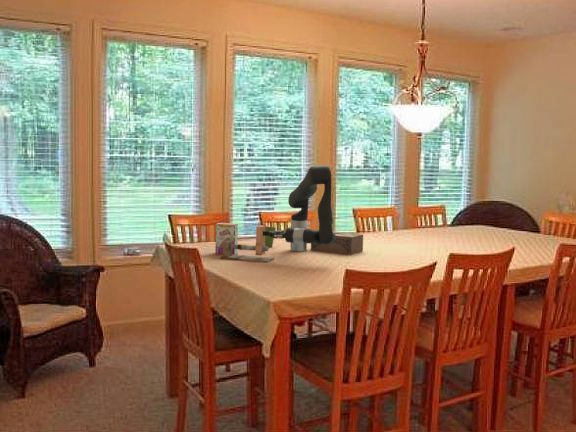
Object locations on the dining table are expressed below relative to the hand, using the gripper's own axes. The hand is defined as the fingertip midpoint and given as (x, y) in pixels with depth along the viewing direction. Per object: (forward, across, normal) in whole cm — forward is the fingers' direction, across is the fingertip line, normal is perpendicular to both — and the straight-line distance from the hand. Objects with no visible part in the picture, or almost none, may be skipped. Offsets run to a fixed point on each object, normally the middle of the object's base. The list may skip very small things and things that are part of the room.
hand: (263, 233), depth 319 cm
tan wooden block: (+2, 0, +11) cm, 11 cm away
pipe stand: (+9, 0, +14) cm, 16 cm away
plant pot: (+14, -42, +14) cm, 46 cm away
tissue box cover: (-28, -47, +14) cm, 56 cm away
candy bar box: (+25, -10, +14) cm, 30 cm away
